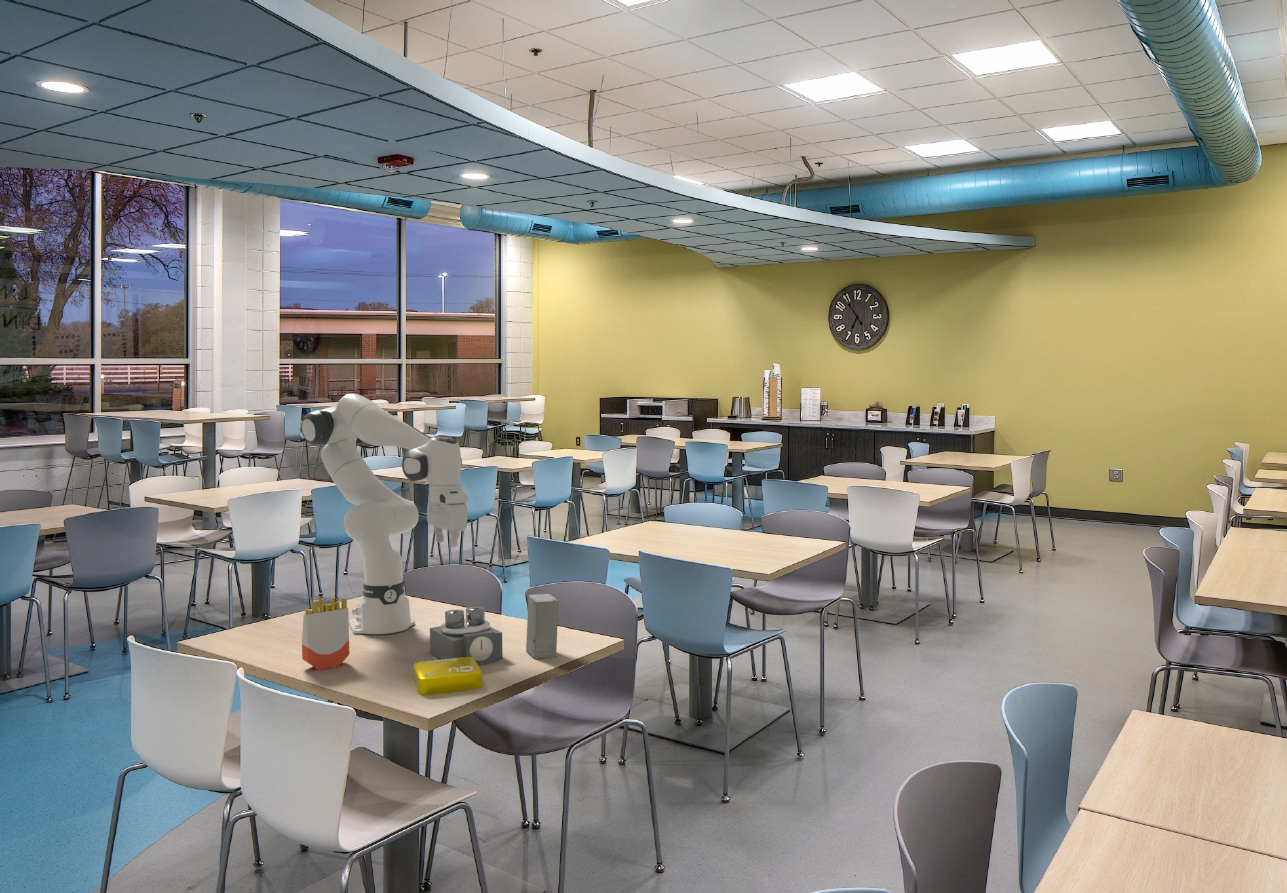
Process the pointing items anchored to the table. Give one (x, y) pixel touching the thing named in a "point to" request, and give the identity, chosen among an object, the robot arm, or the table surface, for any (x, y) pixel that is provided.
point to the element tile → (447, 676)
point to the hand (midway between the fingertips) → (446, 544)
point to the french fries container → (326, 634)
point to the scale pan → (466, 629)
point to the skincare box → (542, 626)
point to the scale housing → (467, 645)
